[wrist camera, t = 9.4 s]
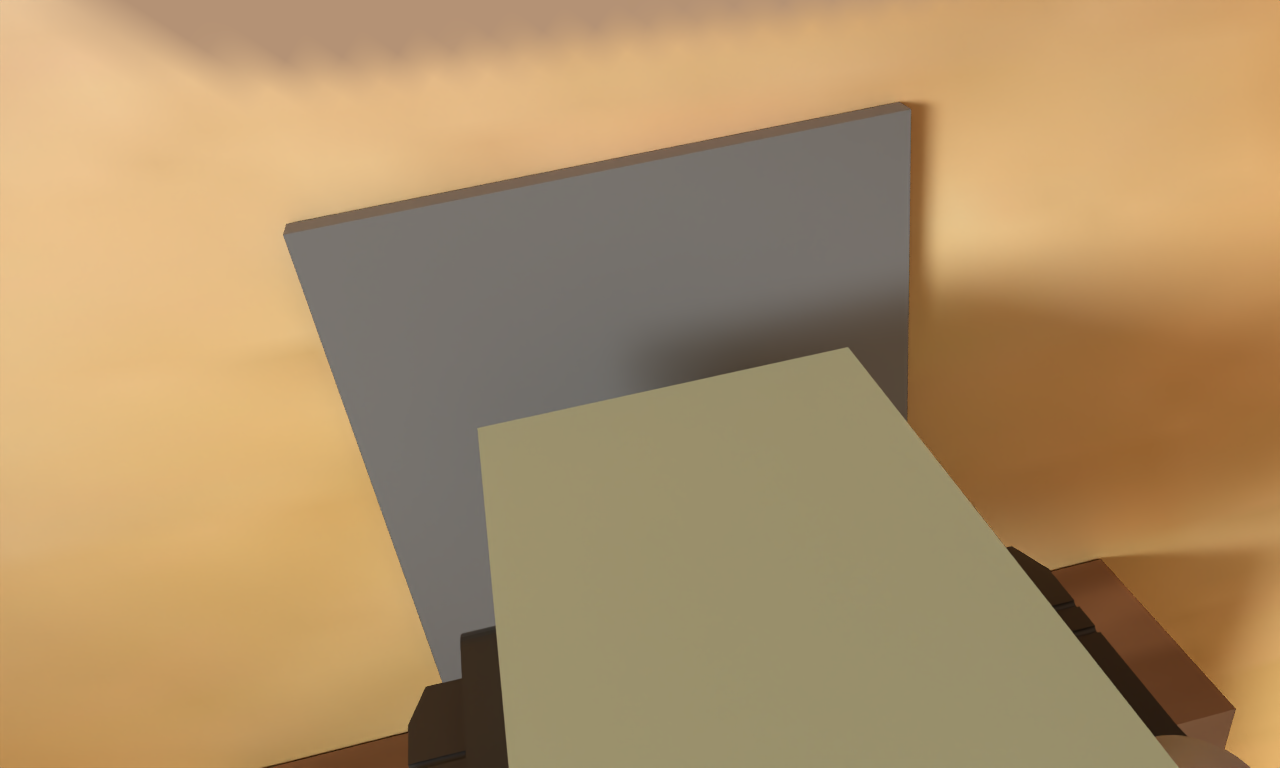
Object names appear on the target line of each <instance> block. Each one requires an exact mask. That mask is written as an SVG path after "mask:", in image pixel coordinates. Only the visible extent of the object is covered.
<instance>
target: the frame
mask: <svg viewBox="0 0 1280 768" xmlns="http://www.w3.org/2000/svg"><path fill="white" fill-rule="evenodd" d="M1052 574H1053V575H1054V576H1055V577H1056V578H1057V580H1058V581H1059V582H1060V583H1061V585H1062V586H1063V587H1064V588H1065V589H1066V591H1067V592H1068V593H1069V594H1070V595H1071V597H1072V598H1073V599H1074V602H1075V605H1076V607H1078V606H1080V608H1081V609H1082V610H1083V611H1084V613H1085V614H1086V615H1087V616H1088V617H1089V619H1090V620H1091V621H1092V622H1093V624H1094V625H1095V629H1096V631H1097V632H1101V633H1102V634H1103V636H1104V637H1105V638H1106V639H1107V641H1108V642H1109V643H1110V644H1111V645H1112V647H1113V648H1114V649H1115V650H1116V652H1117V653H1118V654H1119V655H1120V656H1121V658H1122V659H1123V660H1124V661H1125V663H1126V664H1127V665H1128V666H1129V667H1130V669H1131V670H1132V671H1133V672H1134V673H1135V675H1136V676H1137V677H1138V678H1139V680H1140V681H1141V682H1142V683H1143V684H1144V686H1145V687H1146V688H1147V689H1148V691H1149V692H1150V693H1151V694H1152V695H1153V697H1154V698H1155V699H1156V700H1157V701H1158V703H1159V704H1160V705H1161V706H1162V708H1163V709H1164V710H1165V711H1166V712H1167V714H1168V715H1169V716H1170V717H1171V719H1172V720H1173V721H1174V722H1175V723H1176V725H1177V726H1178V727H1179V728H1180V729H1181V730H1182V731H1183V732H1184V733H1185V734H1186V735H1187V736H1188V737H1192V738H1197V739H1201V740H1204V741H1207V742H1209V743H1212V744H1215V745H1217V746H1219V747H1221V748H1223V749H1225V745H1226V742H1227V738H1228V734H1229V731H1230V727H1231V724H1232V720H1233V717H1234V713H1235V710H1236V709H1235V708H1234V706H1233V705H1232V704H1231V703H1230V702H1229V701H1228V700H1227V699H1226V698H1225V696H1224V695H1223V694H1222V693H1221V692H1220V691H1219V690H1218V689H1217V688H1216V687H1215V685H1214V684H1213V683H1212V682H1211V681H1210V680H1209V679H1208V678H1207V677H1206V675H1205V674H1204V673H1203V672H1202V671H1201V670H1200V669H1199V668H1198V667H1197V665H1196V664H1195V663H1194V662H1193V661H1192V660H1191V659H1190V658H1189V657H1188V655H1187V654H1186V653H1185V652H1184V651H1183V650H1182V649H1181V648H1180V647H1179V645H1178V644H1177V643H1176V642H1175V641H1174V640H1173V639H1172V638H1171V637H1170V635H1169V634H1168V633H1167V632H1166V631H1165V630H1164V629H1163V628H1162V627H1161V625H1160V624H1159V623H1158V622H1157V621H1156V620H1155V619H1154V618H1153V617H1152V616H1151V614H1150V613H1149V612H1148V611H1147V610H1146V609H1145V608H1144V607H1143V606H1142V604H1141V603H1140V602H1139V601H1138V600H1137V599H1136V598H1135V597H1134V596H1133V594H1132V593H1131V592H1130V591H1129V590H1128V589H1127V588H1126V587H1125V586H1124V584H1123V583H1122V582H1121V581H1120V580H1119V579H1118V578H1117V577H1116V576H1115V574H1114V573H1113V572H1112V571H1111V570H1110V569H1109V568H1108V567H1107V566H1106V564H1105V563H1104V562H1103V561H1102V560H1101V559H1099V560H1095V561H1091V562H1087V563H1083V564H1079V565H1076V566H1072V567H1068V568H1064V569H1060V570H1056V571H1052ZM270 768H409V767H408V733H405V734H401V735H397V736H393V737H389V738H385V739H382V740H378V741H374V742H370V743H366V744H362V745H358V746H354V747H350V748H346V749H342V750H338V751H334V752H330V753H326V754H322V755H318V756H314V757H310V758H306V759H302V760H298V761H294V762H290V763H286V764H282V765H278V766H274V767H270Z"/></svg>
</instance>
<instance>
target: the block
mask: <svg viewBox="0 0 1280 768" xmlns="http://www.w3.org/2000/svg"><path fill="white" fill-rule="evenodd" d="M477 430H478V441H479V451H480V462H481V473H482V484H483V495H484V505H485V516H486V527H487V538H488V549H489V559H490V570H491V581H492V592H493V603H494V613H495V624H496V635H497V646H498V657H499V667H500V678H501V689H502V700H503V711H504V721H505V732H506V743H507V754H508V765H509V768H1179V767H1178V766H1177V765H1176V763H1175V762H1174V761H1173V759H1172V758H1171V757H1170V756H1169V754H1168V753H1167V752H1166V751H1165V749H1164V748H1163V747H1162V745H1161V744H1160V743H1159V742H1158V740H1157V739H1156V738H1155V737H1154V735H1153V734H1152V733H1151V731H1150V730H1149V729H1148V728H1147V726H1146V725H1145V724H1144V723H1143V721H1142V720H1141V719H1140V718H1139V716H1138V715H1137V714H1136V712H1135V711H1134V710H1133V709H1132V707H1131V706H1130V705H1129V704H1128V702H1127V701H1126V700H1125V698H1124V697H1123V696H1122V695H1121V693H1120V692H1119V691H1118V690H1117V688H1116V687H1115V686H1114V684H1113V683H1112V682H1111V681H1110V679H1109V678H1108V677H1107V676H1106V674H1105V673H1104V672H1103V670H1102V669H1101V668H1100V667H1099V665H1098V664H1097V663H1096V662H1095V660H1094V659H1093V658H1092V656H1091V655H1090V654H1089V653H1088V651H1087V650H1086V649H1085V648H1084V646H1083V645H1082V644H1081V643H1080V641H1079V640H1078V639H1077V637H1076V636H1075V635H1074V634H1073V632H1072V631H1071V630H1070V629H1069V627H1068V626H1067V625H1066V623H1065V622H1064V621H1063V620H1062V618H1061V617H1060V616H1059V615H1058V613H1057V612H1056V611H1055V609H1054V608H1053V607H1052V606H1051V604H1050V603H1049V602H1048V601H1047V599H1046V598H1045V597H1044V595H1043V594H1042V593H1041V592H1040V590H1039V589H1038V588H1037V587H1036V585H1035V584H1034V583H1033V582H1032V580H1031V579H1030V578H1029V576H1028V575H1027V574H1026V573H1025V571H1024V570H1023V569H1022V568H1021V566H1020V565H1019V564H1018V562H1017V561H1016V560H1015V559H1014V557H1013V556H1012V555H1011V554H1010V552H1009V551H1008V550H1007V548H1006V547H1005V546H1004V545H1003V543H1002V542H1001V541H1000V540H999V538H998V537H997V536H996V534H995V533H994V532H993V531H992V529H991V528H990V527H989V526H988V524H987V523H986V522H985V520H984V519H983V518H982V517H981V515H980V514H979V513H978V512H977V510H976V509H975V508H974V507H973V505H972V504H971V503H970V501H969V500H968V499H967V498H966V496H965V495H964V494H963V493H962V491H961V490H960V489H959V487H958V486H957V485H956V484H955V482H954V481H953V480H952V479H951V477H950V476H949V475H948V473H947V472H946V471H945V470H944V468H943V467H942V466H941V465H940V463H939V462H938V461H937V459H936V458H935V457H934V456H933V454H932V453H931V452H930V451H929V449H928V448H927V447H926V446H925V444H924V443H923V442H922V440H921V439H920V438H919V437H918V435H917V434H916V433H915V432H914V430H913V429H912V428H911V426H910V425H909V424H908V423H907V421H906V420H905V419H904V418H903V416H902V415H901V414H900V412H899V411H898V410H897V409H896V407H895V406H894V405H893V404H892V402H891V401H890V400H889V398H888V397H887V396H886V395H885V393H884V392H883V391H882V390H881V388H880V387H879V386H878V384H877V383H876V382H875V381H874V379H873V378H872V377H871V376H870V374H869V373H868V372H867V371H866V369H865V368H864V367H863V365H862V364H861V363H860V362H859V360H858V359H857V358H856V357H855V355H854V354H853V353H852V351H851V350H850V349H849V348H848V347H846V348H842V349H837V350H832V351H828V352H823V353H819V354H814V355H810V356H805V357H800V358H796V359H791V360H787V361H782V362H778V363H773V364H768V365H764V366H759V367H755V368H750V369H746V370H741V371H736V372H732V373H727V374H723V375H718V376H714V377H709V378H704V379H700V380H695V381H691V382H686V383H682V384H677V385H672V386H668V387H663V388H659V389H654V390H650V391H645V392H640V393H636V394H631V395H627V396H622V397H618V398H613V399H608V400H604V401H599V402H595V403H590V404H586V405H581V406H576V407H572V408H567V409H563V410H558V411H554V412H549V413H544V414H540V415H535V416H531V417H526V418H522V419H517V420H512V421H508V422H503V423H499V424H494V425H490V426H485V427H480V428H477Z"/></svg>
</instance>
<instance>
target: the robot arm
mask: <svg viewBox="0 0 1280 768" xmlns="http://www.w3.org/2000/svg"><path fill="white" fill-rule="evenodd" d="M1007 550H1008V551H1009V552H1010V554H1011V555H1012V556H1013V557H1014V559H1015V560H1016V561H1017V562H1018V564H1019V565H1020V566H1021V568H1022V569H1023V570H1024V571H1025V573H1026V574H1027V575H1028V576H1029V578H1030V579H1031V580H1032V582H1033V583H1034V584H1035V585H1036V587H1037V588H1038V589H1039V590H1040V592H1041V593H1042V594H1043V595H1044V597H1045V598H1046V599H1047V601H1048V602H1049V603H1050V604H1051V606H1052V607H1053V608H1054V609H1055V611H1056V612H1057V613H1058V615H1059V616H1060V617H1061V618H1062V620H1063V621H1064V622H1065V623H1066V625H1067V626H1068V627H1069V629H1070V630H1071V631H1072V632H1073V634H1074V635H1075V636H1076V637H1077V639H1078V640H1079V641H1080V643H1081V644H1082V645H1083V646H1084V648H1085V649H1086V650H1087V651H1088V653H1089V654H1090V655H1091V656H1092V658H1093V659H1094V660H1095V662H1096V663H1097V664H1098V665H1099V667H1100V668H1101V669H1102V670H1103V672H1104V673H1105V674H1106V676H1107V677H1108V678H1109V679H1110V681H1111V682H1112V683H1113V684H1114V686H1115V687H1116V688H1117V690H1118V691H1119V692H1120V693H1121V695H1122V696H1123V697H1124V698H1125V700H1126V701H1127V702H1128V704H1129V705H1130V706H1131V707H1132V709H1133V710H1134V711H1135V712H1136V714H1137V715H1138V716H1139V718H1140V719H1141V720H1142V721H1143V723H1144V724H1145V725H1146V726H1147V728H1148V729H1149V730H1150V731H1151V733H1152V734H1153V735H1154V737H1155V738H1156V739H1157V740H1158V742H1159V743H1160V744H1161V745H1162V747H1163V748H1164V749H1165V751H1166V752H1167V753H1168V754H1169V756H1170V757H1171V758H1172V759H1173V761H1174V762H1175V763H1176V765H1177V766H1178V767H1179V768H1250V767H1249V766H1248V765H1247V764H1245V763H1244V762H1243V761H1242V760H1240V759H1239V758H1238V757H1236V756H1235V755H1233V754H1232V753H1230V752H1228V751H1227V750H1225V749H1223V748H1221V747H1219V746H1217V745H1215V744H1212V743H1209V742H1207V741H1204V740H1201V739H1197V738H1192V737H1188V736H1187V735H1186V734H1185V733H1184V732H1183V731H1182V730H1181V729H1180V728H1179V727H1178V726H1177V725H1176V723H1175V722H1174V721H1173V720H1172V719H1171V717H1170V716H1169V715H1168V714H1167V712H1166V711H1165V710H1164V709H1163V708H1162V706H1161V705H1160V704H1159V703H1158V701H1157V700H1156V699H1155V698H1154V697H1153V695H1152V694H1151V693H1150V692H1149V691H1148V689H1147V688H1146V687H1145V686H1144V684H1143V683H1142V682H1141V681H1140V680H1139V678H1138V677H1137V676H1136V675H1135V673H1134V672H1133V671H1132V670H1131V669H1130V667H1129V666H1128V665H1127V664H1126V663H1125V661H1124V660H1123V659H1122V658H1121V656H1120V655H1119V654H1118V653H1117V652H1116V650H1115V649H1114V648H1113V647H1112V645H1111V644H1110V643H1109V642H1108V641H1107V639H1106V638H1105V637H1104V636H1103V634H1102V633H1101V632H1097V631H1096V629H1095V625H1094V624H1093V622H1092V621H1091V620H1090V619H1089V617H1088V616H1087V615H1086V614H1085V613H1084V611H1083V610H1082V609H1081V608H1080V606H1078V607H1076V605H1075V602H1074V599H1073V598H1072V597H1071V595H1070V594H1069V593H1068V592H1067V591H1066V589H1065V588H1064V587H1063V586H1062V585H1061V583H1060V582H1059V581H1058V580H1057V578H1056V577H1055V576H1054V575H1053V574H1052V572H1051V571H1050V570H1049V569H1048V568H1046V567H1044V566H1043V565H1041V564H1040V563H1038V562H1036V561H1035V560H1033V559H1032V558H1030V557H1028V556H1027V555H1025V554H1023V553H1022V552H1020V551H1019V550H1017V549H1015V548H1014V547H1012V546H1011V547H1007ZM460 651H461V671H462V678H460V679H456V680H452V681H448V682H444V683H440V684H436V685H432V686H427V687H426V688H425V690H424V692H423V694H422V696H421V699H420V701H419V703H418V705H417V707H416V709H415V712H414V714H413V716H412V718H411V720H410V723H409V725H408V767H409V768H509V765H508V754H507V743H506V732H505V721H504V711H503V700H502V689H501V678H500V667H499V657H498V646H497V635H496V625H495V626H491V627H487V628H483V629H479V630H474V631H470V632H466V633H462V634H461V637H460Z"/></svg>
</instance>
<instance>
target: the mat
mask: <svg viewBox="0 0 1280 768" xmlns="http://www.w3.org/2000/svg"><path fill="white" fill-rule="evenodd" d="M910 156H911V109H910V108H908V107H907V106H905V105H904V104H902V103H900V102H897V103H892V104H887V105H882V106H877V107H872V108H867V109H862V110H857V111H852V112H847V113H842V114H837V115H832V116H827V117H822V118H817V119H812V120H807V121H802V122H797V123H792V124H787V125H781V126H776V127H771V128H766V129H761V130H756V131H751V132H746V133H741V134H736V135H731V136H726V137H721V138H716V139H711V140H706V141H701V142H696V143H691V144H686V145H681V146H676V147H671V148H666V149H661V150H656V151H651V152H646V153H641V154H636V155H631V156H626V157H621V158H616V159H611V160H606V161H601V162H596V163H591V164H586V165H581V166H575V167H570V168H565V169H560V170H555V171H550V172H545V173H540V174H535V175H530V176H525V177H520V178H515V179H510V180H505V181H500V182H495V183H490V184H485V185H480V186H475V187H470V188H465V189H460V190H455V191H450V192H445V193H440V194H435V195H430V196H425V197H420V198H415V199H410V200H405V201H400V202H395V203H390V204H385V205H380V206H375V207H370V208H364V209H359V210H354V211H349V212H344V213H339V214H334V215H329V216H324V217H319V218H314V219H309V220H304V221H299V222H294V223H289V224H286V227H285V230H284V234H283V236H284V239H285V241H286V244H287V247H288V250H289V253H290V255H291V258H292V261H293V264H294V267H295V269H296V272H297V275H298V278H299V281H300V283H301V286H302V289H303V292H304V295H305V298H306V300H307V303H308V306H309V309H310V312H311V314H312V317H313V320H314V323H315V326H316V328H317V331H318V334H319V337H320V340H321V342H322V345H323V348H324V351H325V354H326V357H327V359H328V362H329V365H330V368H331V371H332V373H333V376H334V379H335V382H336V385H337V387H338V390H339V393H340V396H341V399H342V401H343V404H344V407H345V410H346V413H347V416H348V418H349V421H350V424H351V427H352V430H353V432H354V435H355V438H356V441H357V444H358V446H359V449H360V452H361V455H362V458H363V461H364V463H365V466H366V469H367V472H368V475H369V477H370V480H371V483H372V486H373V489H374V491H375V494H376V497H377V500H378V503H379V505H380V508H381V511H382V514H383V517H384V520H385V522H386V525H387V528H388V531H389V534H390V536H391V539H392V542H393V545H394V548H395V550H396V553H397V556H398V559H399V562H400V564H401V567H402V570H403V573H404V576H405V579H406V581H407V584H408V587H409V590H410V593H411V595H412V598H413V601H414V604H415V607H416V609H417V612H418V615H419V618H420V621H421V623H422V626H423V629H424V632H425V635H426V638H427V640H428V643H429V646H430V649H431V652H432V654H433V657H434V660H435V663H436V666H437V668H438V671H439V674H440V677H441V680H442V683H444V682H448V681H452V680H456V679H460V678H462V671H461V651H460V637H461V634H462V633H466V632H470V631H474V630H479V629H483V628H487V627H491V626H495V625H496V624H495V613H494V603H493V592H492V581H491V570H490V559H489V549H488V538H487V527H486V516H485V505H484V495H483V484H482V473H481V462H480V451H479V441H478V430H477V428H480V427H485V426H490V425H494V424H499V423H503V422H508V421H512V420H517V419H522V418H526V417H531V416H535V415H540V414H544V413H549V412H554V411H558V410H563V409H567V408H572V407H576V406H581V405H586V404H590V403H595V402H599V401H604V400H608V399H613V398H618V397H622V396H627V395H631V394H636V393H640V392H645V391H650V390H654V389H659V388H663V387H668V386H672V385H677V384H682V383H686V382H691V381H695V380H700V379H704V378H709V377H714V376H718V375H723V374H727V373H732V372H736V371H741V370H746V369H750V368H755V367H759V366H764V365H768V364H773V363H778V362H782V361H787V360H791V359H796V358H800V357H805V356H810V355H814V354H819V353H823V352H828V351H832V350H837V349H842V348H846V347H848V348H849V349H850V350H851V351H852V353H853V354H854V355H855V357H856V358H857V359H858V360H859V362H860V363H861V364H862V365H863V367H864V368H865V369H866V371H867V372H868V373H869V374H870V376H871V377H872V378H873V379H874V381H875V382H876V383H877V384H878V386H879V387H880V388H881V390H882V391H883V392H884V393H885V395H886V396H887V397H888V398H889V400H890V401H891V402H892V404H893V405H894V406H895V407H896V409H897V410H898V411H899V412H900V414H901V415H902V416H903V418H904V419H905V420H906V421H907V398H908V317H909V237H910Z"/></svg>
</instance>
